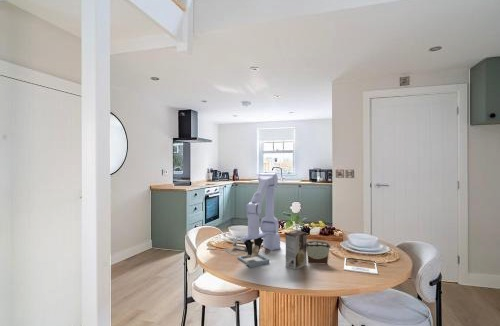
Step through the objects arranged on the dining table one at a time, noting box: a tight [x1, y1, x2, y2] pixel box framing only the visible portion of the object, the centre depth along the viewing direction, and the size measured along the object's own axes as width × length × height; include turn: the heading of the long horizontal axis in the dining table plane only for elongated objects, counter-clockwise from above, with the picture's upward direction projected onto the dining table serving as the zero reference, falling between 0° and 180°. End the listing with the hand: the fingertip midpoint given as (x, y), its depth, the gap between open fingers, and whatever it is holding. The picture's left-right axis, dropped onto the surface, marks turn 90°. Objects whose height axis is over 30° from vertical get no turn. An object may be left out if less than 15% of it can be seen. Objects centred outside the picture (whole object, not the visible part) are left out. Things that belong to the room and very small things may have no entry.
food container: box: [306, 240, 332, 265], centre depth 146 cm, size 12×6×10 cm, turn 84°
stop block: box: [246, 243, 260, 259], centre depth 145 cm, size 4×4×5 cm
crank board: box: [222, 246, 247, 256], centre depth 160 cm, size 15×13×2 cm
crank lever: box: [232, 237, 247, 249], centre depth 162 cm, size 12×3×5 cm, turn 62°
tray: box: [237, 253, 271, 269], centre depth 144 cm, size 12×12×2 cm
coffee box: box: [285, 230, 308, 271], centre depth 140 cm, size 9×6×16 cm
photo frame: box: [343, 257, 379, 275], centre depth 140 cm, size 15×1×18 cm
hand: (253, 253), depth 144 cm, fingers closed on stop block, 4 cm apart
